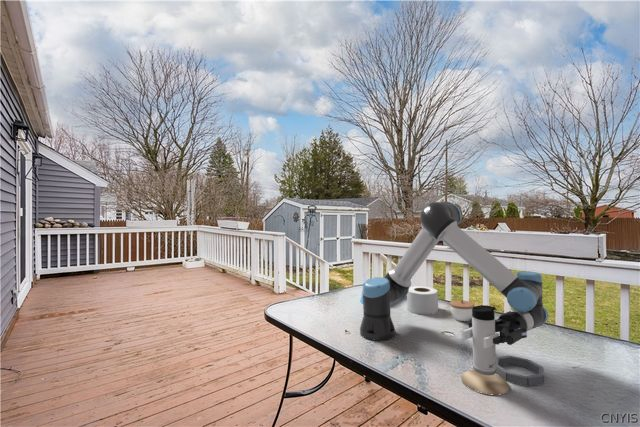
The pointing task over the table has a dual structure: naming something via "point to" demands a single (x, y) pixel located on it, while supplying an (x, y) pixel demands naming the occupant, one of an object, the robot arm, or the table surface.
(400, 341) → the table surface
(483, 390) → the coaster
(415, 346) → the table surface
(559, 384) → the table surface
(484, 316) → the travel mug
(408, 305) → the toilet paper roll
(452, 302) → the lidded jar
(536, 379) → the collar
